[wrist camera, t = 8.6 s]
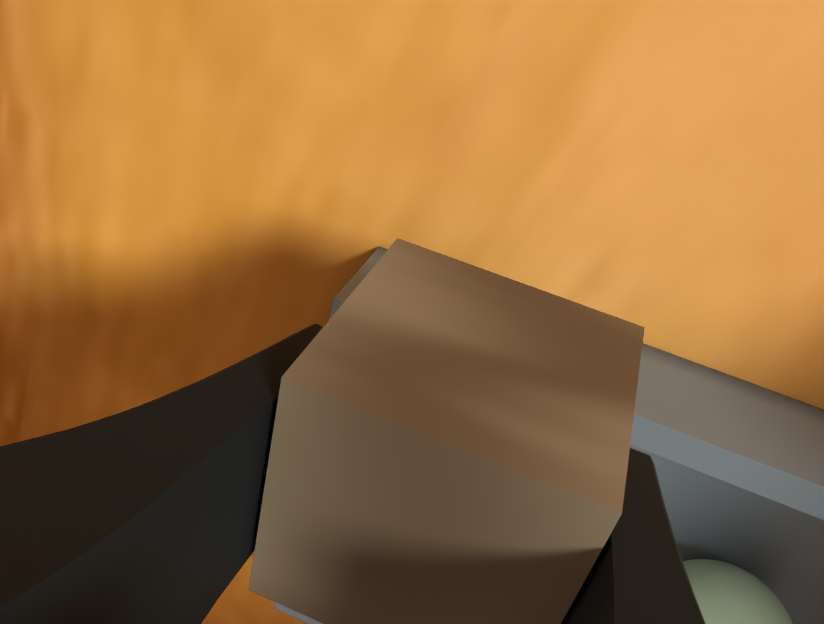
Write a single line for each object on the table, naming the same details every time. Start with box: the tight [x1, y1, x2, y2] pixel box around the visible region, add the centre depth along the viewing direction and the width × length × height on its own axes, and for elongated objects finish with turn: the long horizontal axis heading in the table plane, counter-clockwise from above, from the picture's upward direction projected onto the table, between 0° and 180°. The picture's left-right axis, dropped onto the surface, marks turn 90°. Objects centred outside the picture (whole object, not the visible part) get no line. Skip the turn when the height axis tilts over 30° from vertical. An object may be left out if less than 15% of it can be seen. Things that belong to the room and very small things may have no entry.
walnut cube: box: [249, 238, 644, 624], centre depth 11 cm, size 4×4×4 cm
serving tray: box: [274, 247, 824, 624], centre depth 21 cm, size 16×12×3 cm
